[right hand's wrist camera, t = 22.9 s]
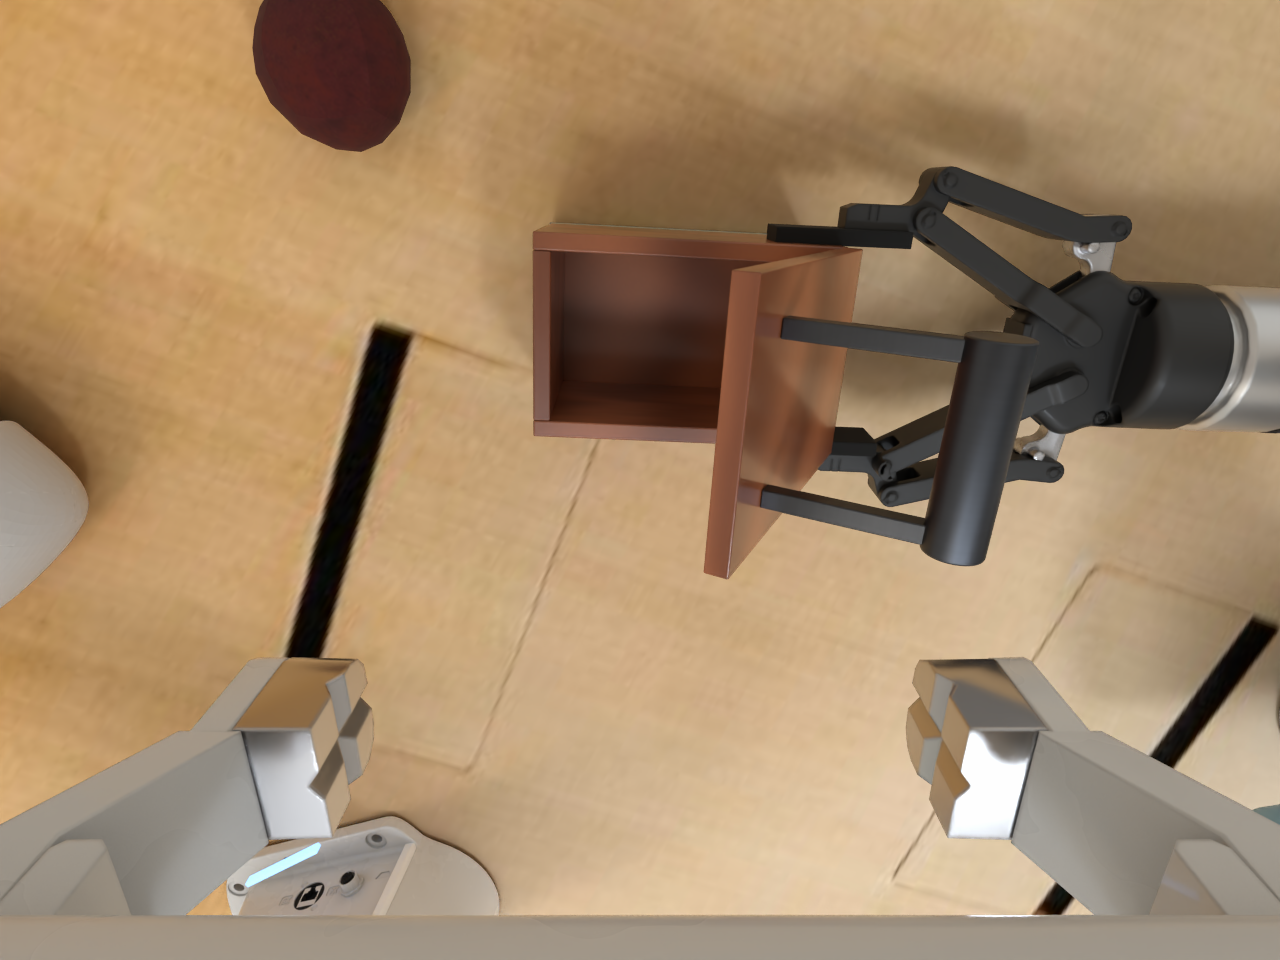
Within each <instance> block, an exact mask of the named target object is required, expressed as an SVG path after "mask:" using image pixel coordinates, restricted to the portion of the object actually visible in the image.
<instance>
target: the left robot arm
mask: <svg viewBox="0 0 1280 960" xmlns="http://www.w3.org/2000/svg"><path fill="white" fill-rule="evenodd" d="M948 202H950V203H953V204H956V205H958V206H961V207H964V208H966V209H969V210H972V211H974V212H977V213H980V214H982V215H985V216H988V217H990V218H993V219H996V220H998V221H1001V222H1004V223H1006V224H1009V225H1012V226H1014V227H1017V228H1020V229H1022V230H1025V231H1028V232H1030V233H1033V234H1036V235H1038V236H1042V237H1045V238H1050V239H1056V240H1064V241H1063V243H1062V247H1063V249H1064V252H1065V254H1066V255H1067V256H1069V257H1073V258H1076V259H1077V260H1078V261H1079V263H1080V271H1077V272H1075V273H1074V274H1072V275H1070V276H1069V277H1067V278H1065V279H1064V280H1062V281H1060V282H1059V283H1057V284H1055V285H1054V286H1052V287H1050V288H1049V289H1048V288H1047V287H1045V286H1043V285H1042V284H1040V283H1038V282H1036V281H1034V280H1032V279H1031V278H1030V277H1028V276H1027V275H1025V274H1024V273H1023V272H1021V271H1020V270H1019V269H1017V268H1016V267H1015V266H1013V265H1012V264H1011V263H1009V262H1008V261H1006V260H1005V259H1004V258H1002V257H1001V256H1000V255H998V254H997V253H996V252H994V251H993V250H992V249H990V248H989V247H987V246H986V245H985V244H983V243H982V242H981V241H979V240H978V239H977V238H975V237H974V236H973V235H971V234H970V233H968V232H967V231H966V230H964V229H963V228H962V227H960V226H959V225H958V224H956V223H955V222H954V221H952V220H951V219H949V218H948V217H947V216H945V215H944V214H943V211H944V209H945V207H946V205H947V204H948ZM1131 229H1132V223H1131V220H1130V219H1129V218H1128V217H1127V216H1120V215H1103V214H1078V213H1075V212H1073V211H1070V210H1067V209H1065V208H1062V207H1060V206H1057V205H1054V204H1052V203H1049V202H1046V201H1044V200H1041V199H1039V198H1036V197H1033V196H1031V195H1028V194H1025V193H1023V192H1020V191H1018V190H1015V189H1012V188H1010V187H1007V186H1004V185H1002V184H999V183H997V182H994V181H991V180H989V179H986V178H983V177H981V176H978V175H976V174H973V173H970V172H968V171H965V170H962V169H960V168H957V167H952V166H951V167H936V168H930V169H927V170H925V171H924V172H923V173H922V175H921V176H920V179H919V187H918V189H917V191H916V193H915V195H914V196H913V198H912V199H911V200H910V201H909V202H907V203H906V204H903V205H881V204H859V203H850V204H847V205H844V206H842V207H840V212H839V219H838V227H829V226H807V225H785V224H768V229H767V238H766V239H769V240H771V241H774V242H781V243H800V244H819V245H838V246H855V247H877V248H899V249H911V245H912V239H913V237H915V238H916V239H917V240H919V241H920V242H922V243H923V244H924V245H926V246H927V247H929V248H930V249H931V250H933V251H934V252H935V253H937V254H938V255H940V256H941V257H942V258H944V259H945V260H947V261H948V262H949V263H951V264H952V265H954V266H955V267H956V268H958V269H959V270H960V271H962V272H963V273H965V274H966V275H967V276H969V277H970V278H972V279H973V280H974V281H976V282H977V283H979V284H980V285H981V286H983V287H984V288H985V289H987V290H988V291H990V292H991V293H992V294H994V295H995V297H996V298H997V299H998V300H1000V301H1001V302H1002V303H1004V304H1005V305H1007V306H1008V307H1009V308H1011V309H1012V310H1014V311H1015V312H1014V314H1013V315H1012V317H1011V318H1006V322H1005V327H1004V331H1003V333H1010V334H1016V335H1022V336H1026V337H1030V338H1033V339H1035V340H1037V341H1039V348H1038V352H1037V356H1036V360H1035V364H1034V368H1033V372H1032V376H1031V380H1030V384H1029V388H1028V392H1027V396H1026V400H1025V404H1024V408H1023V412H1022V416H1021V420H1023V419H1026V418H1028V417H1031V418H1032V419H1033V420H1035V421H1036V422H1037V423H1038V424H1039V425H1040V427H1039V429H1038V430H1037V432H1036V433H1034V434H1033V435H1031V436H1025V437H1022V438H1016V439H1015V443H1014V447H1013V451H1012V455H1011V459H1010V463H1009V467H1008V471H1007V475H1006V479H1005V483H1006V482H1010V481H1015V480H1028V481H1038V482H1047V483H1053V482H1056V481H1058V480H1059V479H1060V478H1062V476H1063V474H1064V467H1063V465H1062V464H1061V463H1059V462H1058V461H1057V457H1058V455H1059V452H1060V449H1061V446H1062V443H1063V440H1064V437H1065V434H1068V433H1071V432H1074V431H1076V430H1078V429H1081V428H1084V427H1088V426H1100V427H1121V428H1147V429H1174V428H1178V429H1182V430H1190V431H1229V432H1262V433H1280V288H1268V287H1248V286H1228V285H1207V286H1201V285H1198V284H1187V283H1164V282H1141V281H1123V280H1121V279H1119V278H1118V277H1117V276H1116V275H1114V274H1113V273H1111V272H1110V270H1111V265H1112V260H1113V255H1114V250H1115V245H1116V242H1120V241H1122V240H1124V239H1126V238H1127V237H1128V235H1129V234H1130V232H1131ZM948 409H949V405H948V406H945V407H943V408H941V409H939V410H937V411H935V412H932V413H930V414H928V415H926V416H924V417H922V418H919V419H917V420H915V421H913V422H911V423H909V424H906V425H904V426H902V427H900V428H898V429H896V430H893V431H891V432H889V433H887V434H885V435H883V436H880V437H878V438H876V439H873V438H872V437H871V436H870V435H869V434H868V433H867V432H866V431H865V429H864V428H854V427H835V431H834V438H833V444H832V450H831V454H830V455H829V456H828V457H827V458H826V460H825V461H824V462H823V463H822V465H821V466H820V467H819V468H818V470H820V471H843V472H864V473H868V485H869V487H870V488H871V489H872V491H873V492H874V493H875V495H876V496H877V497H878V498H879V500H880V501H881V502H882V503H883V504H884V505H885V506H887V507H894V506H898V505H903V504H908V503H912V502H917V501H922V500H926V499H929V498H930V494H931V489H932V484H933V480H934V475H935V470H936V465H937V461H938V458H935V459H930V460H926V461H922V460H924V459H926V458H928V457H931V456H933V455H935V454H937V453H939V451H940V447H941V442H942V437H943V433H944V428H945V423H946V419H947V414H948ZM1021 420H1020V421H1021ZM919 461H921V462H919ZM1279 725H1280V710H1279ZM1252 811H1254V812H1256V813H1258V814H1260V815H1262V816H1264V817H1266V818H1268V819H1269V820H1271V821H1273V822H1275V823H1277V824H1279V825H1280V804H1279V805H1273V806H1267V807H1261V808H1257V809H1254V810H1252Z"/></svg>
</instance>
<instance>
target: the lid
mask: <svg viewBox="0 0 1280 960" xmlns="http://www.w3.org/2000/svg"><path fill="white" fill-rule="evenodd" d="M862 251H863V250H862V249H855V248H840V249H835V250H830V251H825V252H820V253H815V254H810V255H805V256H800V257H795V258H790V259H785V260H780V261H775V262H770V263H765V264H760V265H755V266H750V267H745V268H740V269H735V270H732V274H731V285H730V296H729V306H728V317H727V328H726V338H725V349H724V360H723V371H722V381H721V392H720V403H719V413H718V424H717V435H716V445H715V456H714V467H713V478H712V488H711V499H710V510H709V520H708V531H707V542H706V553H705V563H704V573H706V574H710V575H713V576H717V577H721V578H724V579H729V578H730V576H731V575H732V574H733V573H734V571H735V570H736V569H737V568H738V566H739V565H740V564H741V563H742V562H743V560H744V559H745V558H746V557H747V555H748V554H749V553H750V552H751V551H752V549H753V548H754V547H755V546H756V544H757V543H758V542H759V541H760V539H761V538H762V537H763V536H764V535H765V533H766V532H767V531H768V530H769V528H770V527H771V526H772V525H773V524H774V522H775V521H776V520H777V519H778V517H779V516H780V515H781V514H782V513H786V514H790V515H795V516H799V517H803V518H808V519H812V520H816V521H820V522H825V523H829V524H833V525H838V526H842V527H846V528H851V529H855V530H859V531H864V532H868V533H872V534H877V535H881V536H885V537H890V538H894V539H898V540H903V541H907V542H911V543H916V544H920V547H921V550H922V551H923V552H924V553H925V554H927V555H928V556H930V557H932V558H934V559H936V560H938V561H941V562H944V563H948V564H952V565H958V566H975V565H979V564H981V563H982V562H983V561H984V560H985V558H986V554H987V550H988V546H989V542H990V538H991V534H992V530H993V526H994V522H995V518H996V515H997V511H998V507H999V503H1000V499H1001V495H1002V491H1003V487H1004V483H1005V479H1006V475H1007V471H1008V467H1009V463H1010V459H1011V455H1012V451H1013V447H1014V443H1015V439H1016V435H1017V431H1018V427H1019V424H1020V420H1021V416H1022V412H1023V408H1024V404H1025V400H1026V396H1027V392H1028V388H1029V384H1030V380H1031V376H1032V372H1033V368H1034V364H1035V360H1036V356H1037V352H1038V348H1039V341H1037V340H1035V339H1033V338H1030V337H1026V336H1022V335H1016V334H1010V333H1002V332H991V331H972V332H967V333H966V334H965V335H964V336H958V335H949V334H941V333H933V332H924V331H916V330H908V329H899V328H891V327H882V326H874V325H866V324H857V323H851V322H852V316H853V309H854V303H855V296H856V290H857V283H858V277H859V271H860V264H861V258H862ZM847 348H852V349H859V350H866V351H874V352H881V353H889V354H896V355H904V356H911V357H919V358H926V359H934V360H941V361H949V362H956V363H958V367H957V372H956V377H955V381H954V386H953V391H952V395H951V400H950V405H949V409H948V414H947V419H946V423H945V428H944V433H943V437H942V442H941V447H940V451H939V456H938V461H937V465H936V470H935V475H934V480H933V484H932V489H931V494H930V498H929V503H928V508H927V512H926V517H925V518H921V517H917V516H912V515H908V514H903V513H898V512H894V511H889V510H884V509H880V508H875V507H871V506H866V505H861V504H857V503H852V502H848V501H843V500H838V499H834V498H829V497H825V496H820V495H815V494H811V493H806V492H802V491H800V490H801V489H802V488H803V487H804V485H805V484H806V483H807V482H808V481H809V479H810V478H811V477H812V476H813V474H814V473H815V472H816V471H817V470H818V468H819V467H820V466H821V465H822V463H823V462H824V461H825V460H826V458H827V457H828V456H829V455H830V454H831V450H832V444H833V438H834V431H835V425H836V418H837V412H838V405H839V399H840V393H841V386H842V380H843V373H844V367H845V360H846V354H847Z"/></svg>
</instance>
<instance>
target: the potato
mask: <svg viewBox="0 0 1280 960" xmlns="http://www.w3.org/2000/svg"><path fill="white" fill-rule="evenodd" d="M253 55H254V63H255V70H256V75H257V77H258V79H259V81H260V83H261V85H262V87H263V89H264V91H265V93H266V95H267V97H268V99H269V101H270V103H271V104H272V105H273V106H274V107H275V108H276V109H277V110H278V111H279V112H280V113H281V114H282V115H283V116H284V117H285V118H286V119H287V120H288V121H289V122H290V123H291V124H292V125H293V126H294V127H295V128H296V129H297V130H298V131H299V132H300V133H301V134H303V135H306V136H308V137H310V138H312V139H315V140H317V141H319V142H321V143H323V144H326V145H328V146H330V147H332V148H335V149H339V150H349V151H359V152H362V151H364V150H366V149H369V148H371V147H373V146H376V145H378V144H380V143H382V142H383V141H384V140H385V139H386V138H387V137H388V135H389V134H390V133H391V132H392V131H393V130H394V129H395V127H396V126H397V125H398V124H399V122H400V120H401V117H402V114H403V112H404V109H405V106H406V103H407V101H408V98H409V95H410V57H409V54H408V50H407V47H406V44H405V40H404V37H403V34H402V32H401V30H400V29H399V27H398V25H397V23H396V21H395V20H394V18H393V16H392V14H391V13H390V12H389V10H388V9H387V8H386V7H385V6H384V4H383V3H382V2H381V1H380V0H264V1H263V2H262V4H261V6H260V8H259V12H258V16H257V19H256V23H255V28H254V38H253Z"/></svg>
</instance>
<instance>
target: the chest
mask: <svg viewBox="0 0 1280 960" xmlns="http://www.w3.org/2000/svg"><path fill="white" fill-rule="evenodd" d="M766 238H767V234H766V233H747V232H727V231H708V230H689V229H670V228H651V227H632V226H612V225H593V224H574V223H555V222H551V223H550V224H549V225H547V226H545V227H542V228H540V229H538V230H536V231H534V232H533V249H534V250H533V419H534V422H533V427H534V436H547V437H571V438H595V439H619V440H643V441H666V442H690V443H714V444H716V435H717V424H718V413H719V403H720V392H721V381H722V371H723V360H724V349H725V338H726V328H727V317H728V306H729V296H730V285H731V274H732V270H735V269H740V268H745V267H750V266H755V265H760V264H765V263H770V262H775V261H780V260H785V259H790V258H795V257H800V256H805V255H810V254H815V253H820V252H825V251H830V250H835V249H840V248H848V247H845V246H838V245H819V244H800V243H781V242H774V241H771V240H769V239H766Z"/></svg>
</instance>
